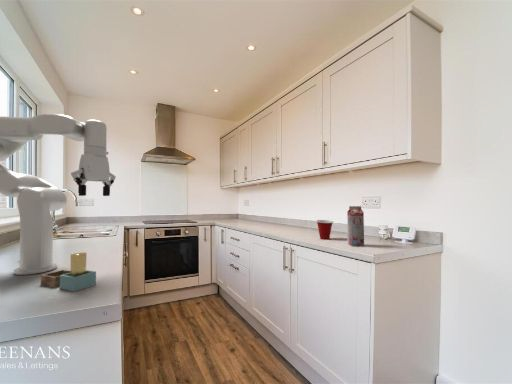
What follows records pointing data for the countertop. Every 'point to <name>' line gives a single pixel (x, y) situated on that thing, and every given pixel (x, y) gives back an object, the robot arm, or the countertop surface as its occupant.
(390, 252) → the countertop surface
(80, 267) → the gold domed peg
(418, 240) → the countertop surface
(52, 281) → the socket block
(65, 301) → the countertop surface
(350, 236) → the juice carton
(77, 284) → the block
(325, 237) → the plastic cup
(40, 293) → the countertop surface
